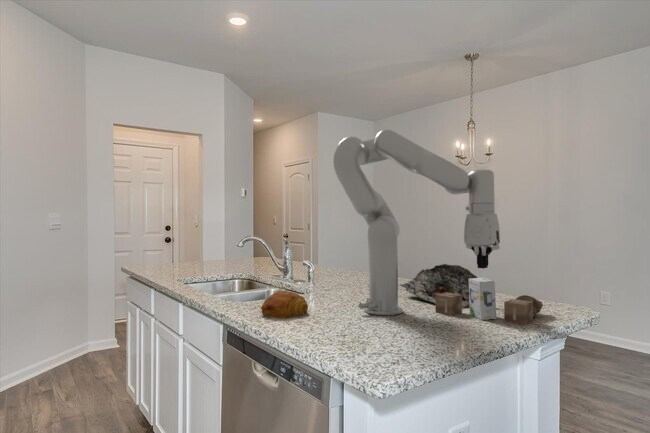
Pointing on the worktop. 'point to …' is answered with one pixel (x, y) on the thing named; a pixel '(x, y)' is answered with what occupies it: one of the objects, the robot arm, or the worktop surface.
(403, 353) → the worktop surface
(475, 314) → the ink box
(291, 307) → the croissant
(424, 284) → the bark piece
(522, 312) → the walnut block
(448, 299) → the cardboard box
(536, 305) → the stone
